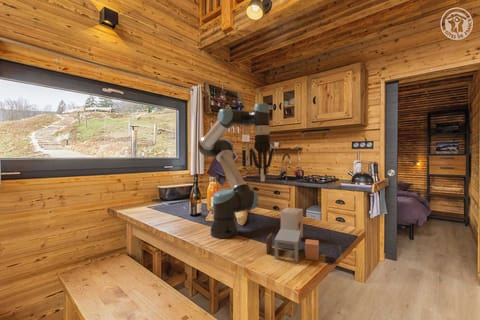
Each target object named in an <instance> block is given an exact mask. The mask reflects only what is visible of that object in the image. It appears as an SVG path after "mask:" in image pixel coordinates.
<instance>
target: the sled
mask: <svg viewBox="0 0 480 320" xmlns="http://www.w3.org/2000/svg"><path fill="white" fill-rule="evenodd" d="M265 243H266V244H265V245H266V247H265V248H266V255H269V256H275V247H273V233H272V232H269V234H268V235H267V236H266V241H265ZM278 257H283V258H288V259H289V258H290V259H295V250H294V249H286V248H278ZM298 260H303V261H311V262H319V263H324V264H325V263H326V254H322V253H319V260H312V259H305V248H304V249H302V251H301V250H298Z"/></svg>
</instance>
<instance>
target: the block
mask: <svg viewBox="0 0 480 320" xmlns="http://www.w3.org/2000/svg"><path fill="white" fill-rule="evenodd" d="M319 244H320V242H319V240H317V239H305V242H304V249H305V259H312V260H319V254H320V250H319V248H320V247H319Z"/></svg>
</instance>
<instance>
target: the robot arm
mask: <svg viewBox="0 0 480 320" xmlns="http://www.w3.org/2000/svg"><path fill="white" fill-rule="evenodd" d="M253 106H254V108H253V110H243V109H242V110H240V109H232V108H220V109H219V111H218V113H217V121H216V122H215V123H214V124H213V126H212V127H211V128H210V130H209V131H208V132H207V133H206V134H205V135H204V136H202V137H201V138H200V139H199V141H198V143H197V148H198V151H199V152H200V153H201V155H203V156H204V157H208V158H209V157H212V158H213V157H214V158H215V159H216V161H217V162H219V163H220V165H221V167H222V170H223V172H224V174H225V177H226V179H227V182H228V183H229V186H230V187H231V189H230V188H229V189H222V190H218V191H216V192H214V193H213V196H212V197H213V198H212V208H213V209H212V211H213V220H212V224H211V227H210V236H211V237H212V238H217V239H229V238H234V237H236V236H237V235H239V227H238V224H237V221H236V217H235V216H236V214H235V213H241V212H246V211H251V210H255V209H256V208H257V206H258V203H259V193H258V191H257V190H255V189H253V188H250V185H249V184H248V183H245V180H244V179H243V176H242V174H241V172H240V170H239V168H238V166H237V164H236V162H235V160H234V157H233V155H234V145H233V143H232V141H231V140H229V139H224V138H223V139H221V138H222V137H223V136H224V135H225V133H226V132H228V131H229V129H230V128H231V127H233V126H234V125H237V126H239V125H240V126H243V127H251V126H254V146H253V147H251V148H250V149H249V152H250V153H251V156H252V159H253V163H254V167H255V168H258V175H259V176H260V182H266V175H267V173H268V170H267V169H268V168H269V167H271V165H272V160H273V154H274V152H275V151H276V148H275V147H272V145H271V137H270V133H271V131H270V106H269V104H268V103H264V102H261V103H255V105H253ZM256 152H257V153H256ZM268 152H269V155H267V153H268ZM256 154H257V155H256ZM257 156H258V157H257ZM267 156H268V157H267ZM267 158H268V159H267ZM262 164H263V165H262Z"/></svg>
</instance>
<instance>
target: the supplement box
mask: <svg viewBox="0 0 480 320" xmlns="http://www.w3.org/2000/svg"><path fill="white" fill-rule="evenodd" d="M303 211H304V208H296V207H289V206H288V207H285V208H283V209H281V210H280V229H286V230H296V231H301V239H302V238H304V226H303V225H304V222H303V221H304V216H303V215H304V212H303Z"/></svg>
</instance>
